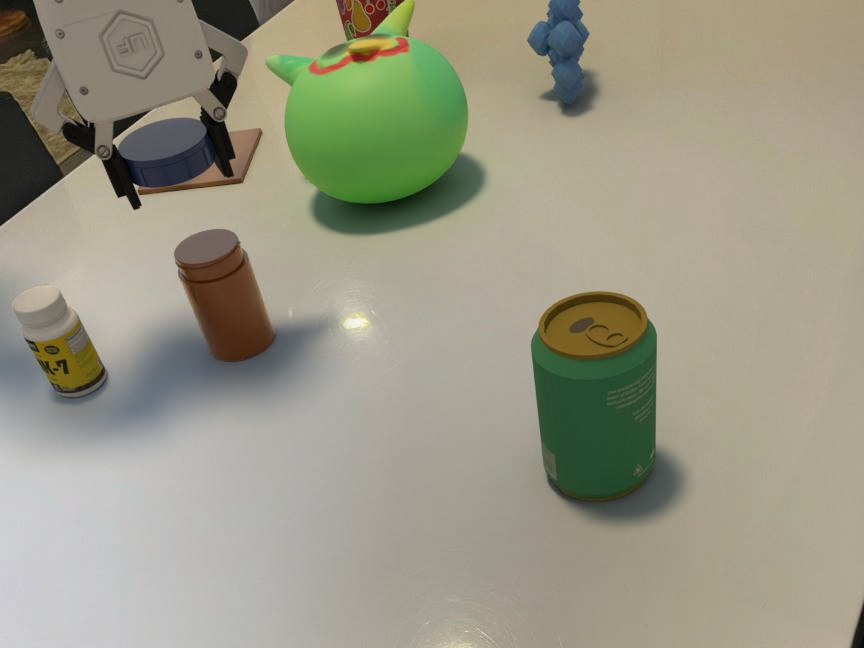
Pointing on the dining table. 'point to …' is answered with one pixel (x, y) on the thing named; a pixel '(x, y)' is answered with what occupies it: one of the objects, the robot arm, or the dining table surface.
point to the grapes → (562, 46)
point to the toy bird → (374, 114)
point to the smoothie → (364, 15)
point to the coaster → (243, 149)
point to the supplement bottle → (59, 341)
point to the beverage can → (596, 394)
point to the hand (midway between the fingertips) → (179, 184)
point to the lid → (167, 152)
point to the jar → (224, 294)
